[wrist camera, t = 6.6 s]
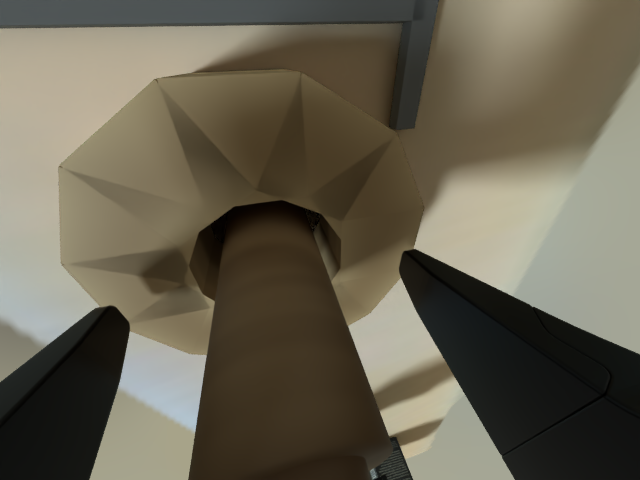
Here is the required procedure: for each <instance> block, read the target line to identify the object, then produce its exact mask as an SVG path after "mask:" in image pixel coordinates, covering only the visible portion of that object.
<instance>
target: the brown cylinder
mask: <svg viewBox="0 0 640 480" xmlns="http://www.w3.org/2000/svg"><path fill="white" fill-rule="evenodd" d="M392 452H393V446H392V444H391V441H390V438H389V436H388V433H387V430H386V427H385V425H384V422H383V419H382V417H381V414H380V411H379V409H378V406H377V403H376V401H375V398H374V395H373V393H372V390H371V387H370V385H369V382H368V379H367V376H366V374H365V371H364V368H363V366H362V363H361V360H360V358H359V355H358V352H357V350H356V347H355V344H354V342H353V339H352V336H351V334H350V331H349V328H348V326H347V323H346V320H345V317H344V315H343V312H342V309H341V307H340V304H339V301H338V299H337V296H336V293H335V291H334V288H333V285H332V283H331V280H330V277H329V275H328V272H327V269H326V266H325V264H324V261H323V258H322V256H321V253H320V250H319V248H318V245H317V242H316V240H315V237H314V234H313V232H312V229H311V226H310V224H309V221H308V218H307V216H306V213H305V210H304V208H303V207H301V206H298V205H295V204H292V203H289V202H287V201H284V200H278V201H270V202H263V203H255V204H248V205H241V206H234V207H233V208H231V209H230V210H229V211H228V216H227V223H226V230H225V236H224V243H223V250H222V257H221V263H220V270H219V277H218V284H217V290H216V297H215V304H214V311H213V317H212V324H211V331H210V337H209V344H208V351H207V358H206V364H205V371H204V378H203V385H202V391H201V398H200V405H199V412H198V418H197V425H196V432H195V439H194V445H193V453H192V459H191V465H190V472H189V479H188V480H370V476H369V471H371V470H372V469H374V468H375V467H377V466H378V465H380V464H381V463H383V462H384V461H385V460H386V459H387V458H388V457H389V456H390V455H391V454H392Z"/></svg>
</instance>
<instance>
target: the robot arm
mask: <svg viewBox="0 0 640 480" xmlns="http://www.w3.org/2000/svg"><path fill="white" fill-rule="evenodd" d="M399 274H400V276H401V278H402V281H403V283H404V285H405V287H406V290H407V292H408V294H409V296H410V298H411V301H412V303H413V305H414V307H415V309H416V311H417V313H418V315H419V317H420V318H421V320H422V322H423V324H424V325H425V327H426V329H427V330H428V332H429V334H430V335H431V337H432V339H433V341H434V342H435V344H436V346H437V347H438V349H439V351H440V352H441V354H442V356H443V358H444V359H445V361H446V363H447V364H448V366H449V368H450V370H451V371H452V373H453V375H454V376H455V378H456V380H457V381H458V383H459V385H460V387H461V388H462V390H463V392H464V393H465V395H466V397H467V398H468V400H469V402H470V403H471V405H472V407H473V409H474V410H475V412H476V414H477V415H478V417H479V419H480V420H481V422H482V424H483V426H484V427H485V429H486V431H487V432H488V434H489V436H490V438H491V439H492V441H493V443H494V444H495V446H496V448H497V449H498V451H499V453H500V454H501V455H502V458H503V460H504V462H505V463H506V465H507V467H508V468H509V470H510V472H511V474H512V475H513V477H514V479H515V480H640V354H638V353H635V352H633V351H631V350H628V349H626V348H623V347H621V346H619V345H617V344H614V343H612V342H609V341H607V340H605V339H603V338H600V337H598V336H596V335H593V334H591V333H589V332H586V331H584V330H582V329H580V328H578V327H575V326H573V325H571V324H569V323H567V322H565V321H563V320H560V319H558V318H556V317H554V316H552V315H550V314H548V313H546V312H544V311H541V310H540V309H538V308H535V307H531V306H530V305H529V304H527V303H525V302H523V301H521V300H519V299H517V298H515V297H513V296H511V295H509V294H507V293H505V292H502V291H500V290H498V289H496V288H494V287H492V286H490V285H488V284H486V283H484V282H482V281H480V280H478V279H476V278H474V277H472V276H470V275H468V274H466V273H463V272H461V271H459V270H457V269H455V268H453V267H451V266H449V265H447V264H445V263H443V262H441V261H439V260H437V259H435V258H433V257H431V256H429V255H427V254H424V253H422V252H420V251H418V250H416V249H411V250H406V251H404V252H403V253H402V256H401V260H400V265H399ZM129 333H130V324H129V321H128V320H127V319H126V318H125V317H124V315H123V314H122V313H121V312H120V311H119V310H118V308H117V307H115V306H113V305H109V306H104V307H99V308H95V309H94V310H92V311H91V312H90V313H88V314H87V315H86V316H84V317H83V318H82V319H81V320H79V321H78V322H77V323H75V324H74V325H73V326H72V327H70V328H69V329H68V330H66V331H65V332H64V333H63V334H61V335H60V336H59V337H58V338H56V339H55V340H54V341H52V342H51V343H50V344H49V345H47V346H46V347H45V348H43V349H42V350H41V351H40V352H38V353H37V354H36V355H34V356H33V357H32V358H31V359H29V360H28V361H27V362H26V363H25V364H23V365H22V366H20V367H19V368H18V369H17V370H15V371H14V372H13V373H11V374H10V375H9V376H8V377H6V378H5V379H4V380H3V381H1V382H0V480H89V479H90V476H91V472H92V469H93V466H94V463H95V460H96V457H97V453H98V450H99V447H100V443H101V441H102V437H103V434H104V431H105V427H106V425H107V421H108V418H109V415H110V412H111V408H112V405H113V402H114V399H115V395H116V392H117V389H118V385H119V382H120V378H121V373H122V368H123V363H124V358H125V353H126V348H127V343H128V338H129ZM369 476H370V480H388V479H387V477H386V474H383V475H381V476H380V477H378V478H376V479H372V476H371V473H370V471H369Z"/></svg>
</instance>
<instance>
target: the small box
mask: <svg viewBox="0 0 640 480" xmlns="http://www.w3.org/2000/svg"><path fill="white" fill-rule="evenodd" d="M390 441H391V444H392V446H393V452H392V454H391V455H390V456H389V457H388V458H387V459H386V460H385V461H384V462H383V463H381V464H380V465H378V466H377V467H375V468H374V469H372V470H371V471H370V473H371V476H372V479H376V478H378V477H380V476H381V475H383V474H386V477H387V479H388V480H413V478H412V476H411V473H410V471H409V469H408V466H407V463H406V461H405V458H404V456H403V453H402V451H401V448H400V446H399V443H398V441H397V438H396V437H393V438H390Z"/></svg>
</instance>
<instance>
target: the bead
mask: <svg viewBox="0 0 640 480" xmlns="http://www.w3.org/2000/svg"><path fill="white" fill-rule="evenodd" d="M58 171H59V212H60V253H61V264H62V266H63V267H64V268H65V269H66V270H67V271H68V273H69V274H70V275H71V276H72V277H73V278H74V279H75V280H76V281H77V282H78V283H79V284H80V285H81V287H82V288H83V289H84V290H85V291H86V292H87V293H88V294H89V295H90V296H91V297H92V298H93V299H94V300H95V302H96V303H97V304H98V305H99V306H100V307H104V306H109V305H113V306H115V307H117V308H118V310H119V311H120V312H121V313H122V314H123V315H124V317H125V318H126V319H127V320H128V321H129V324H130V331H131V332H134V333H136V334H139V335H142V336H144V337H147V338H149V339H152V340H155V341H157V342H160V343H163V344H165V345H168V346H170V347H173V348H176V349H178V350H181V351H184V352H186V353H189V354H198V355H207V351H208V344H209V337H210V331H211V324H212V317H213V311H214V304H215V297H216V290H217V284H218V277H219V270H220V263H221V257H222V250H223V243H222V242H220V241H219V240H218V239H216V238H215V237H214V234H213V232H212V229H211V226H210V224H211V223H212V222H214V221H215V220H216V219H218V218H219V217H220V216H222V215H223V214H225V213H226V212H227V211H229V210H230V209H231V208H233V207H234V206H241V205H248V204H255V203H263V202H270V201H278V200H284V201H287V202H289V203H292V204H295V205H298V206H301V207H303V208H306V209H309V210H312V211H315V212H317V213H319V216H320V221H319V223H318V225H317V226H316V228H315V230H314V232H313V234H314V237H315V240H316V242H317V245H318V248H319V250H320V253H321V256H322V258H323V261H324V264H325V266H326V269H327V272H328V275H329V277H330V280H331V283H332V285H333V288H334V291H335V293H336V296H337V299H338V301H339V304H340V307H341V309H342V312H343V315H344V317H345V320H346V323H347V326H349V325H350V324H352V323H354V322H356V321H357V320H359V319H361V318H363V317H364V316H366V315H368V314H369V313H371V311H372V310H373V309H374V308H375V307H376V306H377V305H378V303H379V302H380V301H381V300H382V299H383V298H384V296H385V295H386V294H387V293H388V292H389V291H390V289H391V288H392V287H393V286H394V285H395V284H396V283H397V281H398V280H399V279H400V278H401V276H400V274H399V265H400V260H401V256H402V253H403V252H404V251H406V250H411V249H414V245H415V241H416V237H417V234H418V230H419V226H420V222H421V218H422V215H423V211H424V206H423V203H422V200H421V197H420V194H419V192H418V189H417V186H416V183H415V180H414V178H413V175H412V172H411V169H410V167H409V164H408V161H407V158H406V155H405V153H404V150H403V147H402V144H401V142H400V139H399V136H398V134H397V133H396V132H395V131H393V130H392V129H390V128H388V127H387V126H385V125H384V124H382V123H381V122H379V121H378V120H376V119H374V118H373V117H371V116H370V115H368V114H367V113H365V112H364V111H362V110H360V109H359V108H357V107H356V106H354V105H353V104H351V103H349V102H348V101H346V100H345V99H343V98H342V97H340V96H339V95H337V94H335V93H334V92H332V91H331V90H329V89H328V88H326V87H325V86H323V85H321V84H320V83H318V82H317V81H315V80H314V79H312V78H311V77H309V76H307V75H306V74H304V73H303V72H299V71H292V70H286V69H272V70H249V71H226V72H203V73H188V74H182V75H175V76H169V77H163V78H157V79H154V80H153V81H152V82H151V83H150V84H149V85H148V86H146V87H145V88H144V89H143V90H142V91H141V92H140V93H139V94H138V95H136V96H135V97H134V98H133V99H132V100H131V101H130V102H129V103H128V104H126V105H125V106H124V107H123V108H122V109H121V110H120V111H119V112H118V113H116V114H115V115H114V116H113V117H112V118H111V119H110V120H109V121H108V122H107V123H105V124H104V125H103V126H102V127H101V128H100V129H99V130H98V131H97V132H95V133H94V134H93V135H92V136H91V137H90V138H89V139H88V140H87V141H85V142H84V143H83V144H82V145H81V146H80V147H79V148H78V149H77V150H75V151H74V152H73V153H72V154H71V155H70V156H69V157H68V158H67V159H65V160H64V161H63V162H62V163H61V164H60V166H59V167H58Z"/></svg>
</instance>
